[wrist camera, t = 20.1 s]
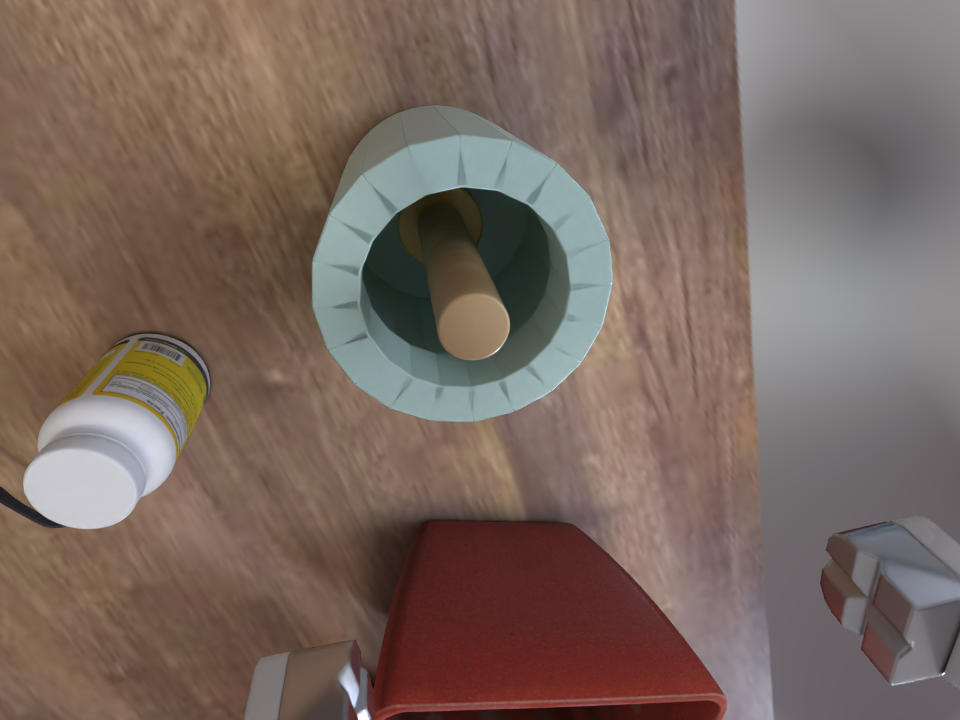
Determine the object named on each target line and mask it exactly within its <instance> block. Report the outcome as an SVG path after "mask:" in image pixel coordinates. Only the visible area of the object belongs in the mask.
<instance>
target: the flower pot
mask: <svg viewBox="0 0 960 720" xmlns="http://www.w3.org/2000/svg"><path fill="white" fill-rule="evenodd" d="M373 695H374V705H375V720H722V718H723V716H724V714H725V712H726V710H727V707H728V700H727V698H726V697H725V695H724V693H723V692H722V690H721V689H720V687H719V686H718V684H717V683H716V681H715V680H714V679H713V677H712V676H711V674H710V673H709V671H708V670H707V669H706V667H705V666H704V664H703V663H702V662H701V660H700V659H699V658H698V656H697V655H696V654H695V652H694V651H693V650H692V648H691V647H690V646H689V644H688V643H687V642H686V641H685V639H684V638H683V637H682V635H681V634H680V633H679V632H678V630H677V629H676V628H675V627H674V625H673V624H672V623H671V622H670V620H669V619H668V618H667V617H666V615H665V614H664V613H663V612H662V611H661V609H660V608H659V607H658V606H657V605H656V604H655V602H654V601H653V600H652V599H651V598H650V597H649V596H648V594H647V593H646V592H645V591H644V590H643V589H642V588H641V587H640V585H639V584H638V583H637V582H636V581H635V580H634V579H633V578H632V577H631V576H630V575H629V574H628V573H627V572H626V571H625V570H624V569H623V568H622V567H621V566H620V565H619V564H618V563H617V562H616V561H615V560H614V559H613V558H612V557H611V556H610V555H609V554H608V553H607V552H605V551H604V550H603V549H602V548H601V547H600V546H599V545H598V544H596V543H595V542H594V541H593V540H592V539H591V538H590V537H589V536H587V535H586V534H585V533H584V532H582V531H581V530H580V529H578V528H577V527H576V526H574V525H572V524H567V523H530V522H489V521H447V520H431V521H428V522H425V523H423V524H422V525H421V526H420V527H419V529H418V531H417V533H416V535H415V537H414V540H413V542H412V545H411V547H410V550H409V552H408V554H407V557H406V560H405V563H404V565H403V568H402V571H401V574H400V577H399V580H398V583H397V587H396V590H395V593H394V597H393V601H392V604H391V608H390V612H389V616H388V621H387V625H386V629H385V633H384V638H383V642H382V647H381V652H380V657H379V662H378V668H377V674H376V680H375V686H374V694H373Z"/></svg>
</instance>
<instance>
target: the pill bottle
mask: <svg viewBox="0 0 960 720" xmlns="http://www.w3.org/2000/svg"><path fill="white" fill-rule="evenodd" d="M209 390H210V378H209V374H208V370H207V368H206V366H205V364H204V362H203V360H202V359H201V358H200V357H199V355H198V354H197V353H196V352H195V351H194V350H193V349H192V348H191V347H189V346H188V345H186V344H184V343H183V342H181V341H179V340H176V339H174V338H171V337H168V336H164V335H158V334H139V335H134V336H131V337H128V338H125V339H123V340H121V341H119V342H118V343H116V344H115V345H114V346H113V347H111V348H110V349H109V350H108V351H107V352H106V353H105V354H104V356H103V357H102V358H101V359H100V360H99V361H98V362H97V363H96V364H95V365H94V367H93V368H92V369H91V370H90V371H89V372H88V373H87V374H86V375H85V376H84V378H83V379H82V380H81V381H80V382H79V383H78V384H77V385H76V386H75V387H74V388H73V390H72V391H71V392H70V393H69V394H68V395H67V396H66V397H65V398H64V399H63V400H62V402H61V403H60V404H59V405H58V406H57V407H56V408H55V409H54V410H53V411H52V412H51V414H50V415H49V416H48V417H47V419H46V420H45V422H44V424H43V425H42V427H41V430H40V433H39V437H38V454H37V456H36V457H35V458H34V459H33V461H32V462H31V463H30V465H29V466H28V468H27V469H26V471H25V474H24V479H23V487H24V492H25V495H26V497H27V499H28V500H29V502H30V503H31V505H32V506H33V507H34V508H35V509H36V510H37V511H38V512H39V513H41V514H42V515H43V516H45V517H46V518H48V519H50V520H52V521H54V522H56V523H58V524H61V525H64V526H68V527H73V528H79V529H97V528H103V527H107V526H111V525H114V524H116V523H118V522H120V521H121V520H123V519H124V518H126V517H127V516H128V515H129V514H130V513H131V512H132V510H133V509H134V507H135V506H136V504H137V502H138V501H139V499H140V498H141V497H143V496H145V495H147V494H149V493H151V492H152V491H154V490H155V489H157V488H158V487H159V486H160V485H161V484H162V483H163V482H164V481H165V480H166V479H167V477H168V476H169V474H170V473H171V471H172V469H173V467H174V465H175V463H176V461H177V459H178V457H179V455H180V453H181V451H182V450H183V448H184V446H185V443H186V441H187V439H188V437H189V435H190V433H191V431H192V429H193V427H194V425H195V423H196V421H197V419H198V417H199V415H200V413H201V411H202V409H203V407H204V405H205V402H206V400H207V398H208V395H209Z"/></svg>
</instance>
